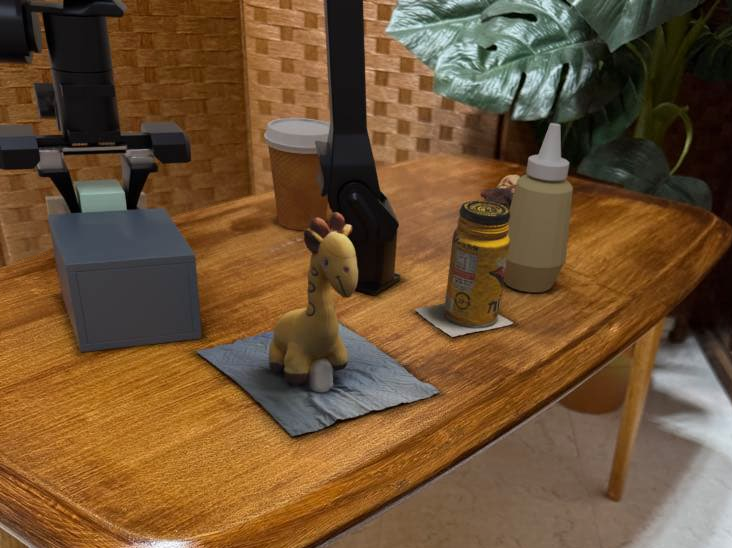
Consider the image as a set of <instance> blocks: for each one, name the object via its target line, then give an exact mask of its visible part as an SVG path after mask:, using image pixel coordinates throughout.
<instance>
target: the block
mask: <svg viewBox="0 0 732 548" xmlns="http://www.w3.org/2000/svg"><path fill="white" fill-rule="evenodd" d="M73 187H74V191H75V194H76V198H77V201H78V205H79V208H80V212H81V213H85V212H102V211H120V210H127V206H126V198H125V192H124V190H123V186H121V183H120V182H119V180H118V179H117V178H115V179H114V178H113V179H95V180H93V179H92V180H74V181H73Z"/></svg>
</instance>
